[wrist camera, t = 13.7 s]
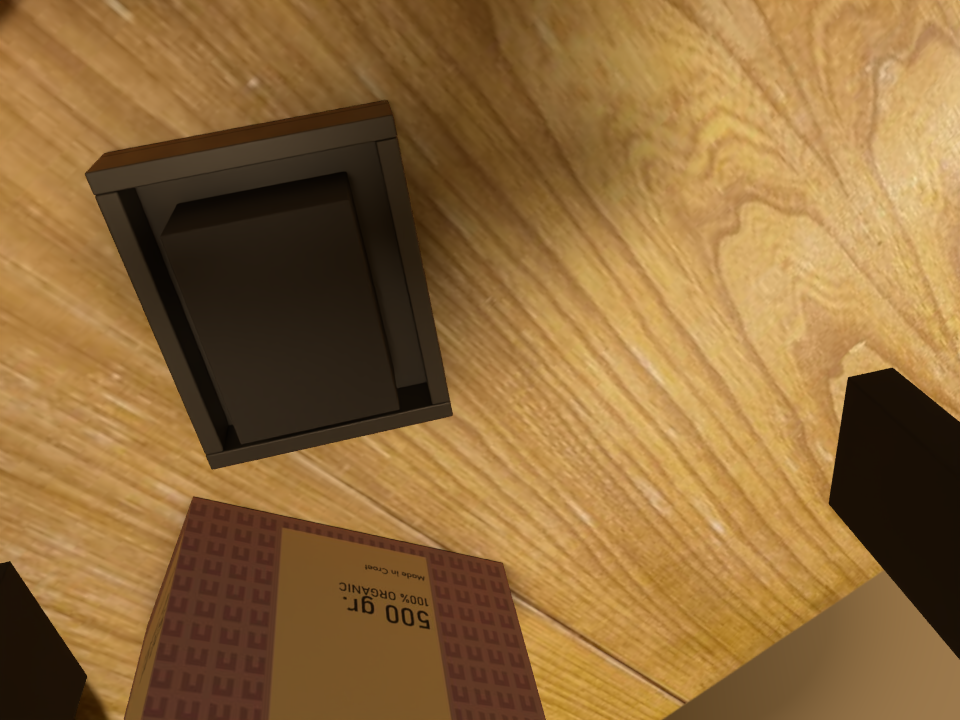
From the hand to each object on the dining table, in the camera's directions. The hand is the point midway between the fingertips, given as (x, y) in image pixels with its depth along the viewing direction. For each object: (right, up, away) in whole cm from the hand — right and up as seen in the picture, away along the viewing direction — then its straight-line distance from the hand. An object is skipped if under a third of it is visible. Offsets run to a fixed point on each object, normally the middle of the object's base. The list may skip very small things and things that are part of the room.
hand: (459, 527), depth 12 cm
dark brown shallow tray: (-7, +6, +19) cm, 21 cm away
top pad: (-7, +6, +19) cm, 21 cm away
